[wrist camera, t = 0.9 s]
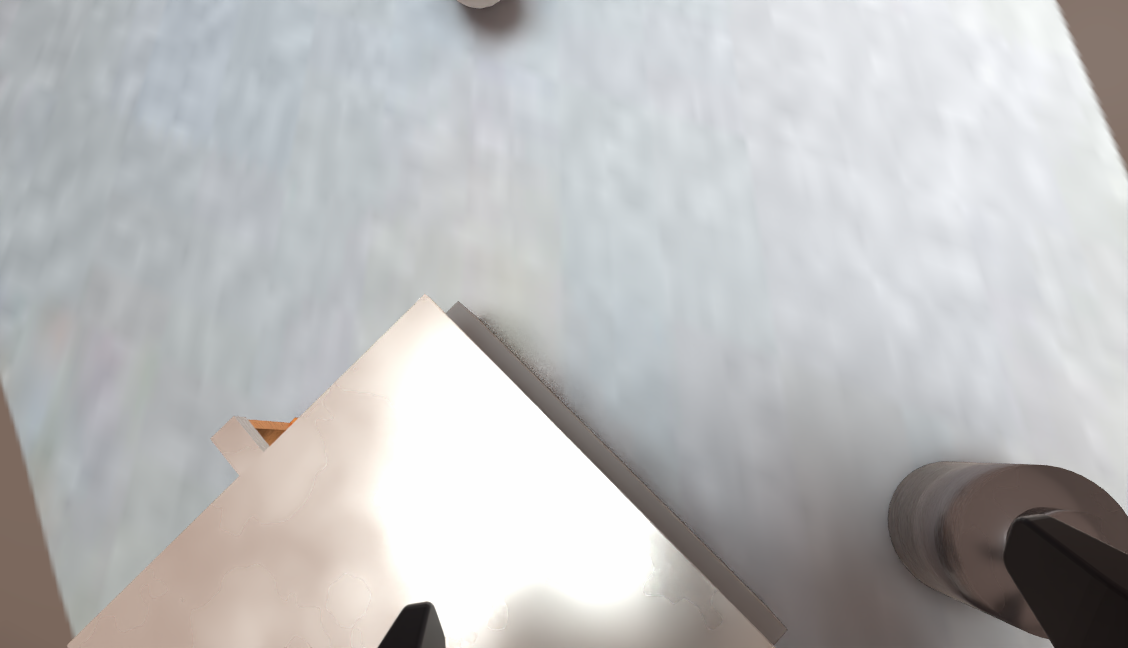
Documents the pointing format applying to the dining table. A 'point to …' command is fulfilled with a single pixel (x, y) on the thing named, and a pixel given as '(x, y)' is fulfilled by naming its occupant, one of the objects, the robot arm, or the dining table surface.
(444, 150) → the dining table surface
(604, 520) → the scale pan
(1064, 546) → the robot arm
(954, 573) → the weight
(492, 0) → the donut
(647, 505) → the scale base
